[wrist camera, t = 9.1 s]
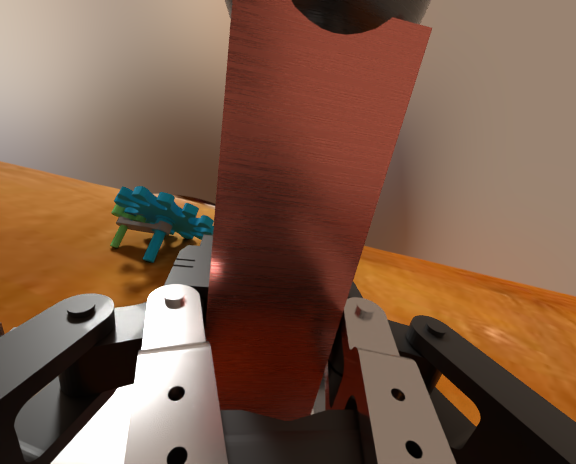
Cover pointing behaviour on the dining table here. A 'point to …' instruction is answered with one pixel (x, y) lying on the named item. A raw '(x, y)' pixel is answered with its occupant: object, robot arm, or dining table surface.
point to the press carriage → (290, 196)
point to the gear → (156, 218)
